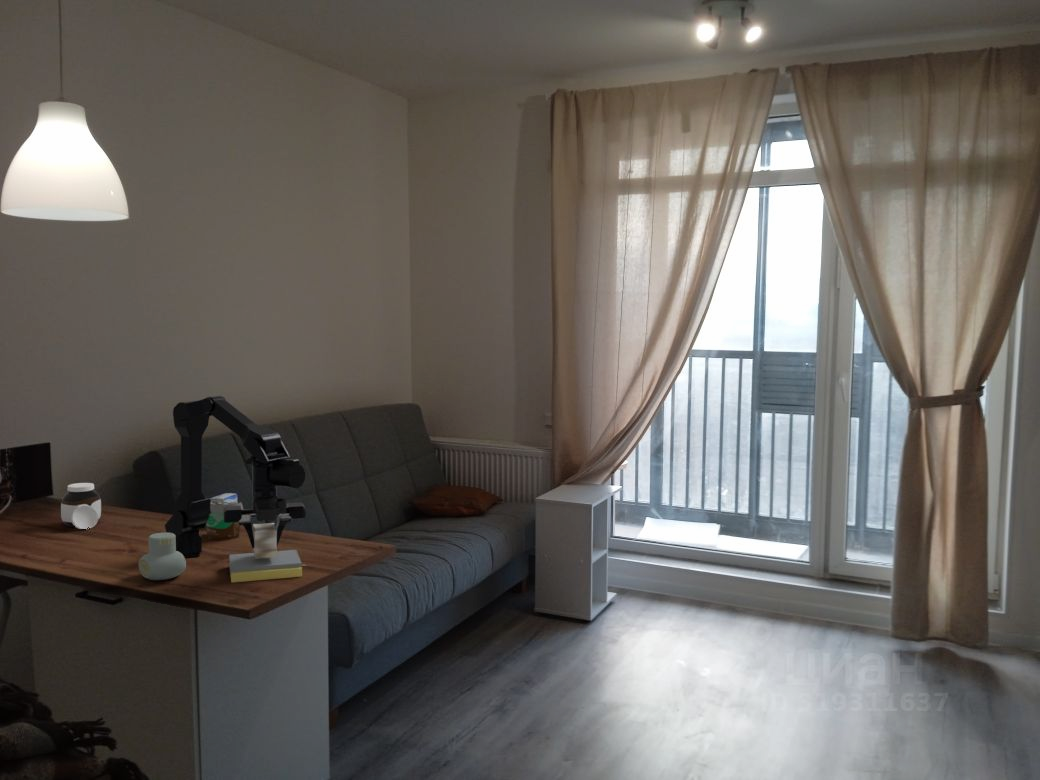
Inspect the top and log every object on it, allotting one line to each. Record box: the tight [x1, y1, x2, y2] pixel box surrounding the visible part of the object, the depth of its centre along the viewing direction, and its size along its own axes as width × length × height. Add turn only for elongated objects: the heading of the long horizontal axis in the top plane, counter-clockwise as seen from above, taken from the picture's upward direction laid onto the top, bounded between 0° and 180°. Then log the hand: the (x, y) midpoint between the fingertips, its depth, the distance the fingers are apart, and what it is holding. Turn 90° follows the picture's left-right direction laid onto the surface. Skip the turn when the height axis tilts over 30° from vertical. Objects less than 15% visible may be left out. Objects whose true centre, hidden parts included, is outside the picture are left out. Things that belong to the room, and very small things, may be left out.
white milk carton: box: [252, 522, 278, 559], centre depth 203 cm, size 5×8×6 cm, turn 21°
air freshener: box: [138, 532, 187, 581], centre depth 197 cm, size 11×8×10 cm
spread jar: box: [60, 482, 102, 530], centre depth 242 cm, size 12×11×12 cm
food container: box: [205, 501, 244, 541], centre depth 232 cm, size 12×6×10 cm, turn 68°
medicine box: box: [210, 492, 238, 504], centre depth 247 cm, size 8×4×9 cm, turn 168°
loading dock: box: [228, 549, 303, 583], centre depth 203 cm, size 16×13×3 cm
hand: (264, 547), depth 203 cm, fingers closed on white milk carton, 5 cm apart
